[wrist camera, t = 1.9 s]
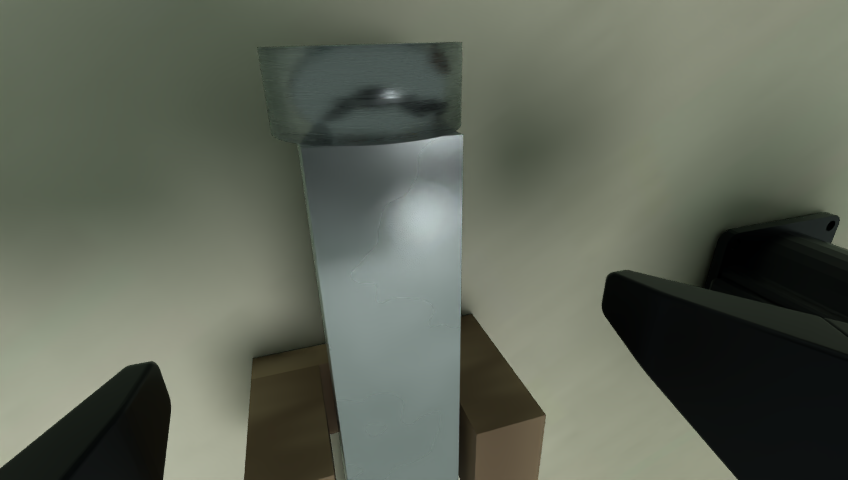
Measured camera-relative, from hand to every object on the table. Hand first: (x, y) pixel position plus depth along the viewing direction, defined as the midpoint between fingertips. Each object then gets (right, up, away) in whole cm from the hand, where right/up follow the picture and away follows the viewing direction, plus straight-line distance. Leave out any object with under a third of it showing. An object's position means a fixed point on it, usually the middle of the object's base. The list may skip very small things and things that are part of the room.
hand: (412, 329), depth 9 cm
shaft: (-1, -9, +9) cm, 13 cm away
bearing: (-2, -3, +7) cm, 8 cm away
